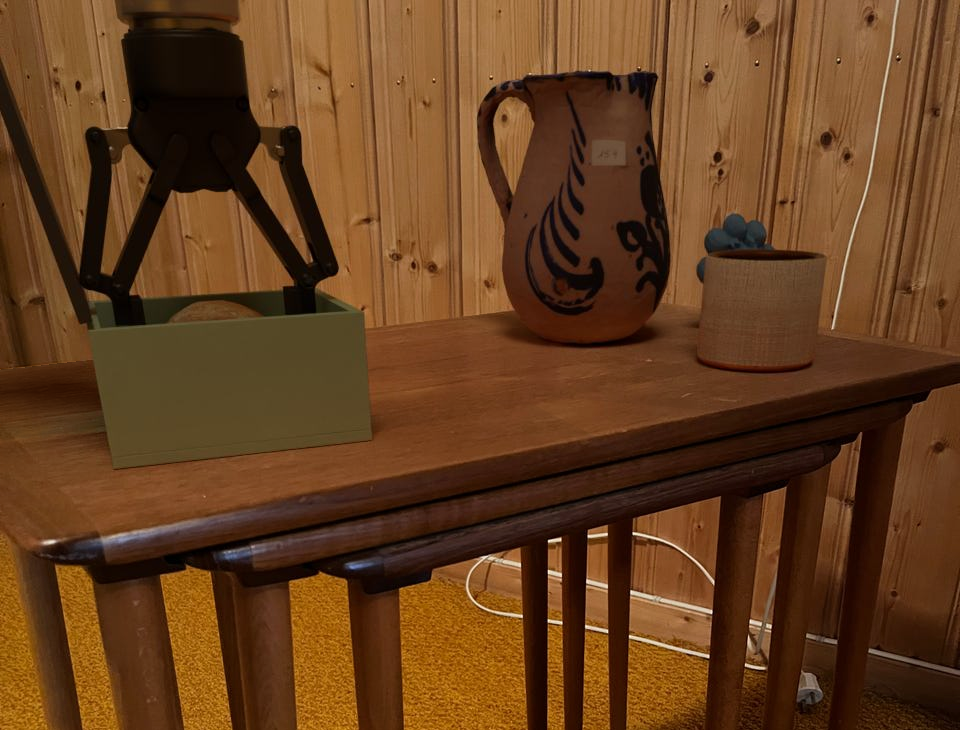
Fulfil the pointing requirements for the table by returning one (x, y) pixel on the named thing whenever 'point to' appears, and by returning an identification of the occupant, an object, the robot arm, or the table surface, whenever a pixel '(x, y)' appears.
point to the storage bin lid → (42, 198)
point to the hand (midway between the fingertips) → (226, 385)
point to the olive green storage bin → (230, 379)
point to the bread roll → (213, 312)
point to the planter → (760, 309)
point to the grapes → (734, 238)
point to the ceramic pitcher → (582, 205)
